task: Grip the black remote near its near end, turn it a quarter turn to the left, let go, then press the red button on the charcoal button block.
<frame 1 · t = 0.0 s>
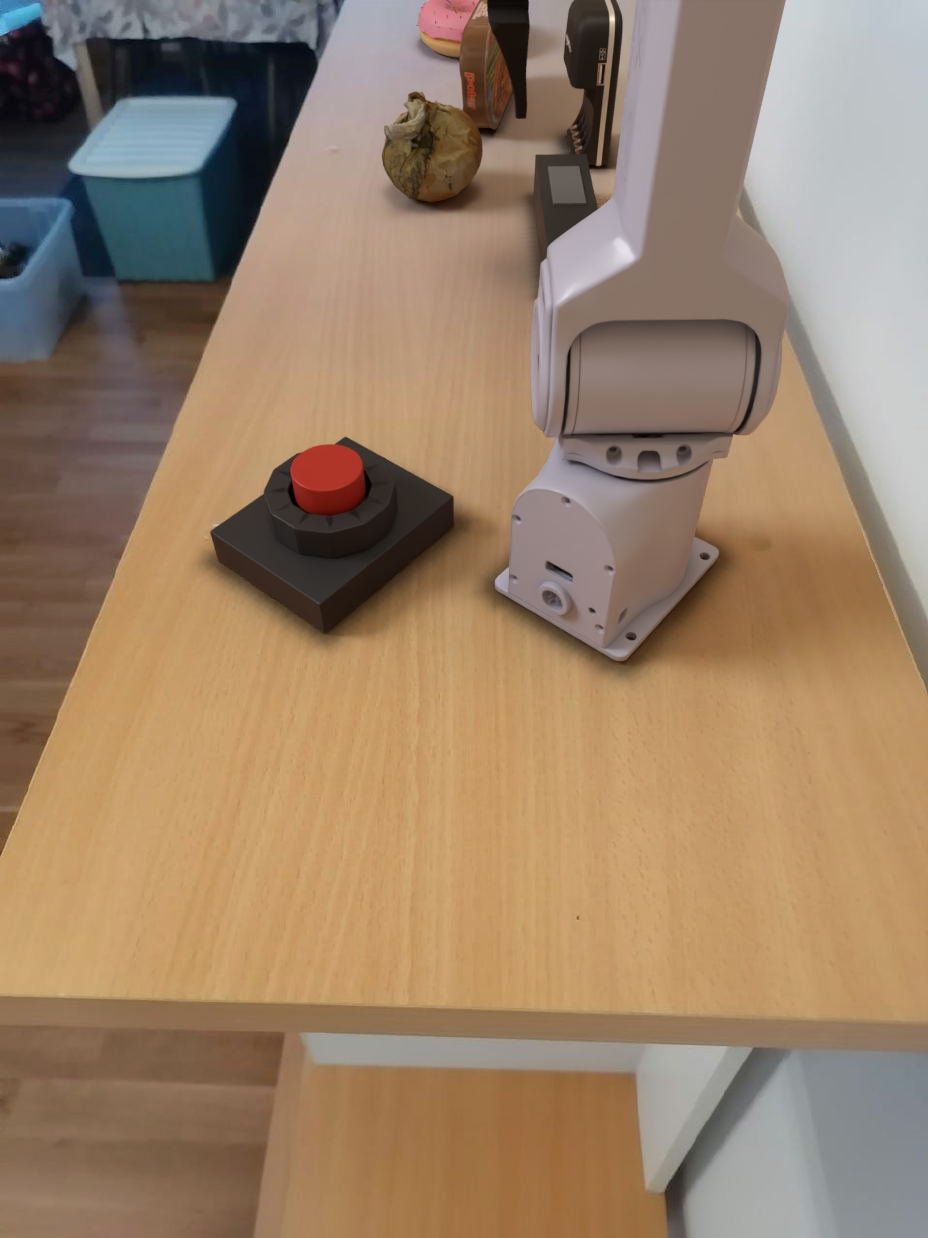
hand: (578, 109, 63), 11 cm above the table, tool pointing down, fingers open, 7 cm apart
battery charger: (581, 154, 83), on the table
button: (328, 479, 48), point 4 cm above the table, slide at 0.1 cm
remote: (565, 243, 72), on the table
button block: (338, 543, 51), on the table
tin: (488, 111, 89), on the table
doughnut: (470, 46, 100), on the table
onion: (433, 195, 78), on the table
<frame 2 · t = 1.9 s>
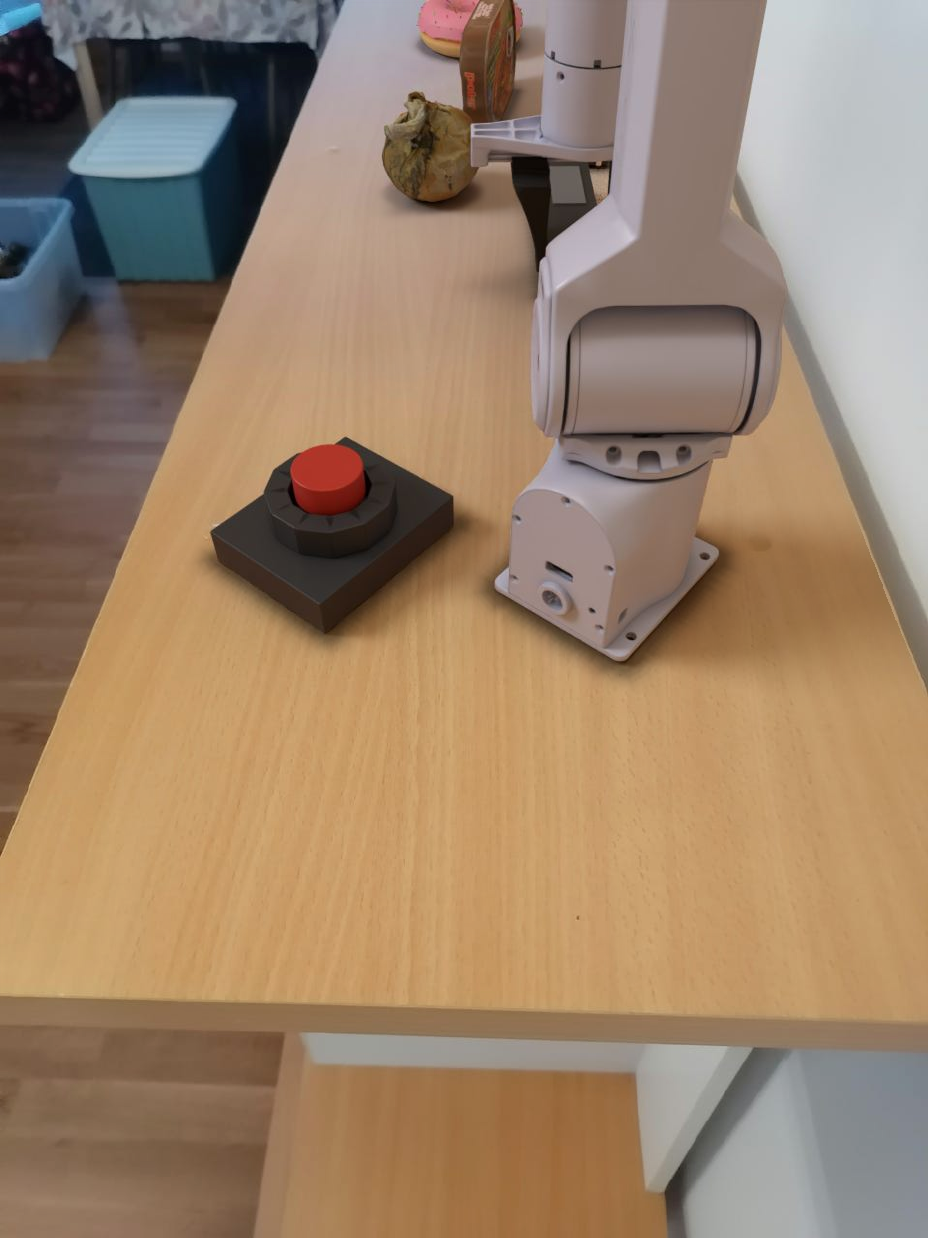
hand: (573, 264, 67), 2 cm above the table, tool pointing down, fingers closed on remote, 4 cm apart
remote: (564, 243, 72), on the table, touching gripper
everything else where it was.
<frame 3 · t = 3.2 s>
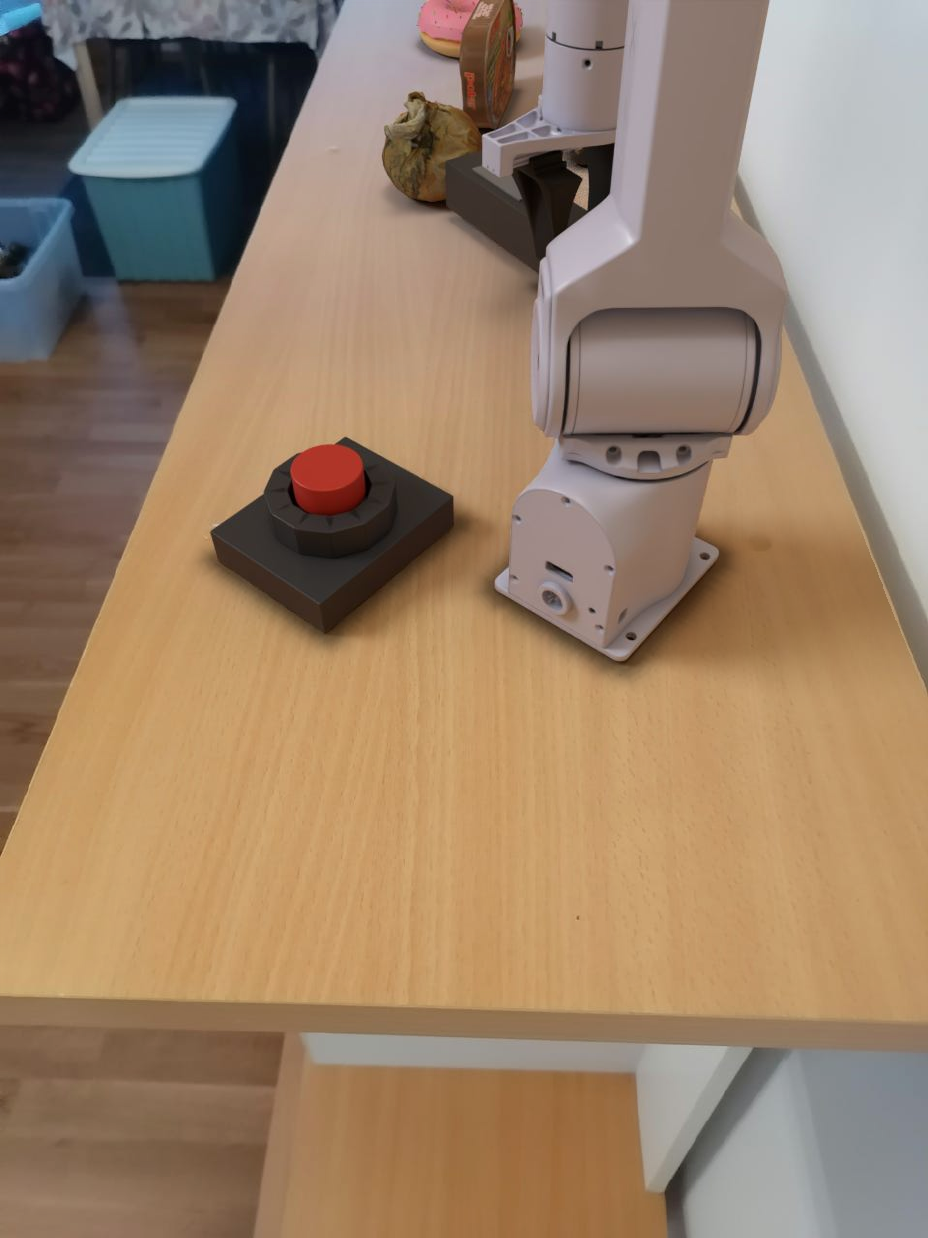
hand: (575, 251, 66), 3 cm above the table, tool pointing down, fingers closed on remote, 4 cm apart
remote: (522, 238, 71), point 1 cm above the table, touching gripper
everything else where it was.
when the fingers open (2 cm above the table, at t = 4.4 s): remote stays where it is, on the table.
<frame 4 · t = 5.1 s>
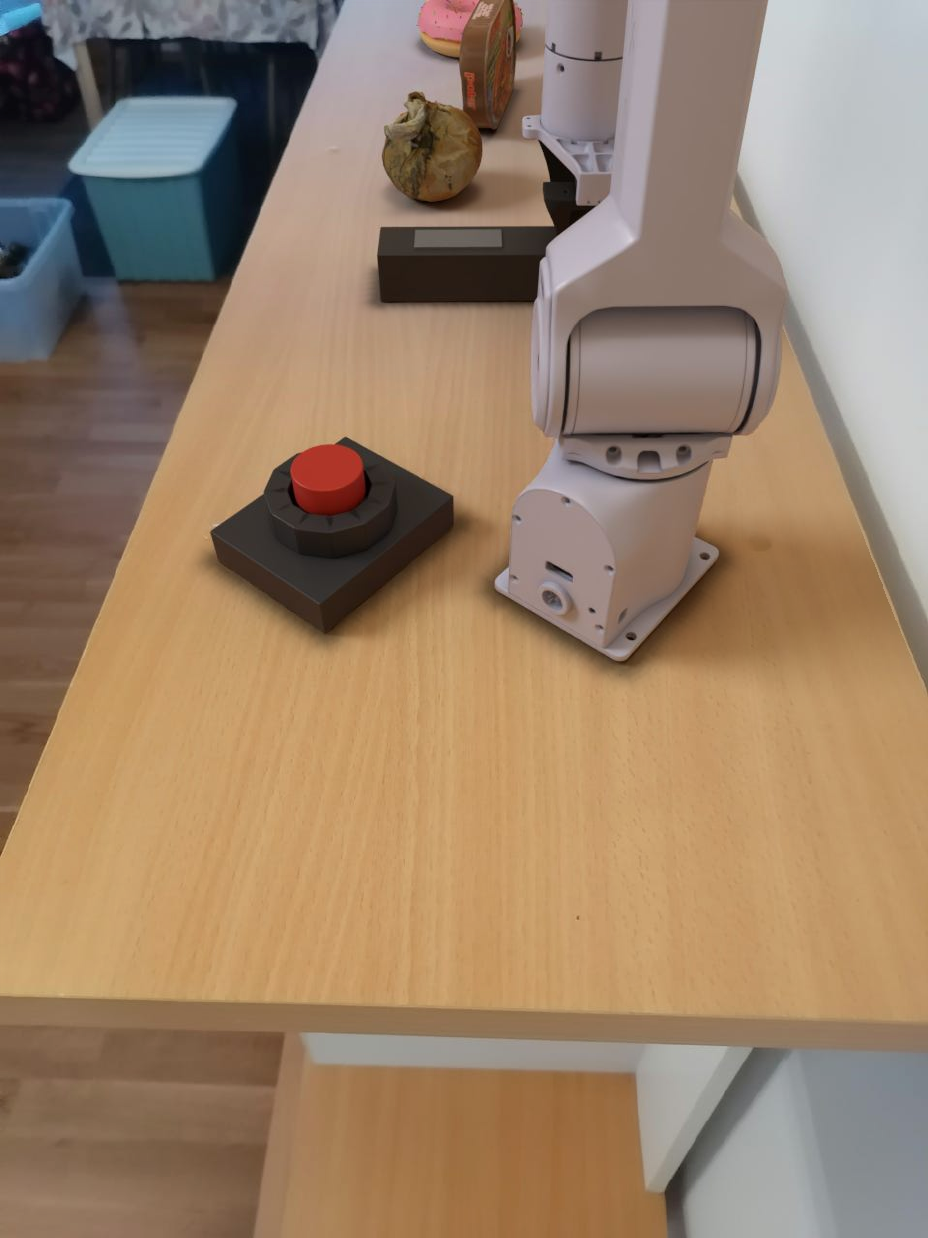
hand: (574, 259, 67), 2 cm above the table, tool pointing down, fingers open, 7 cm apart
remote: (486, 286, 68), on the table
everything else where it was.
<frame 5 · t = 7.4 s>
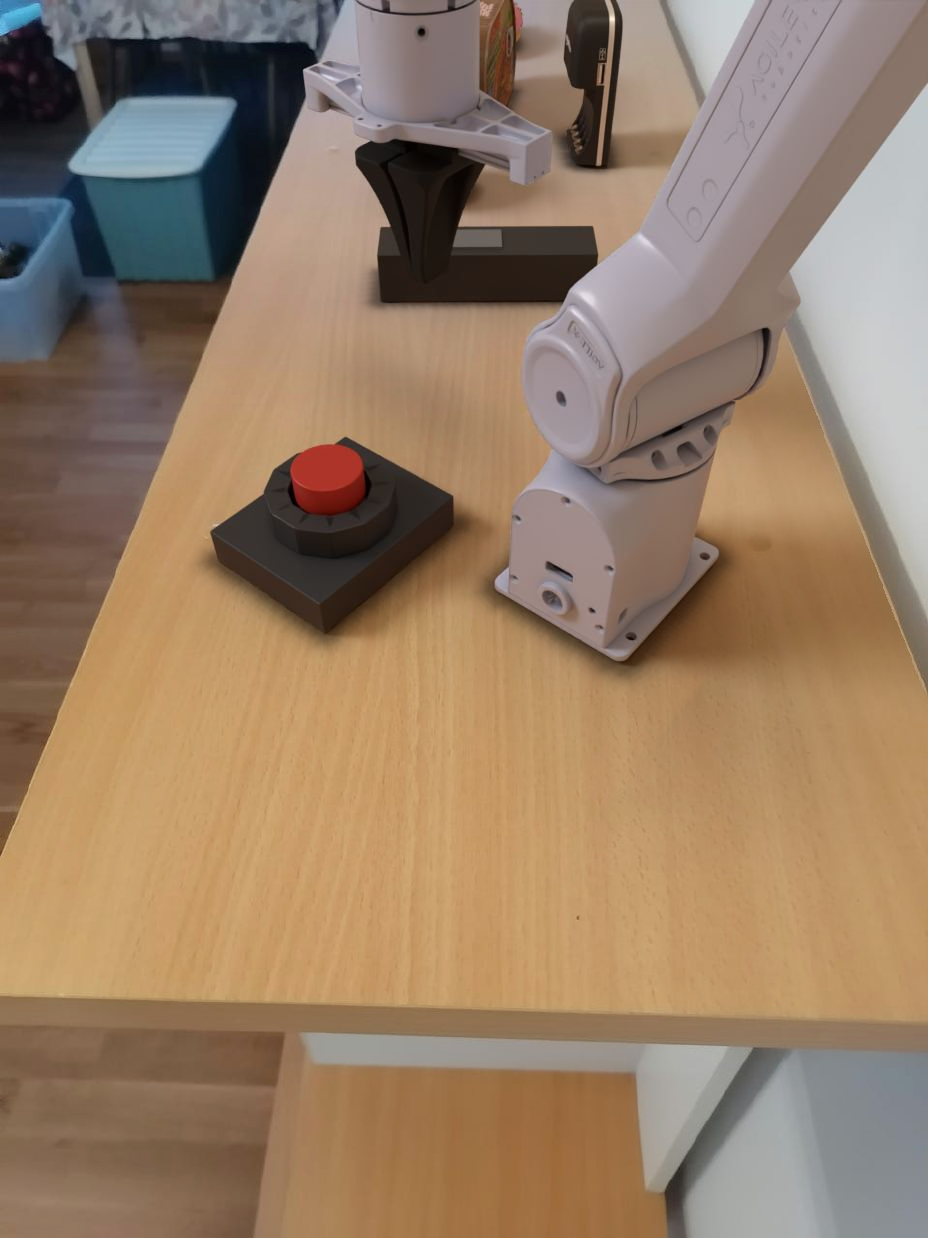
hand: (427, 273, 53), 8 cm above the table, tool pointing down, fingers closed
nothing on the table moved.
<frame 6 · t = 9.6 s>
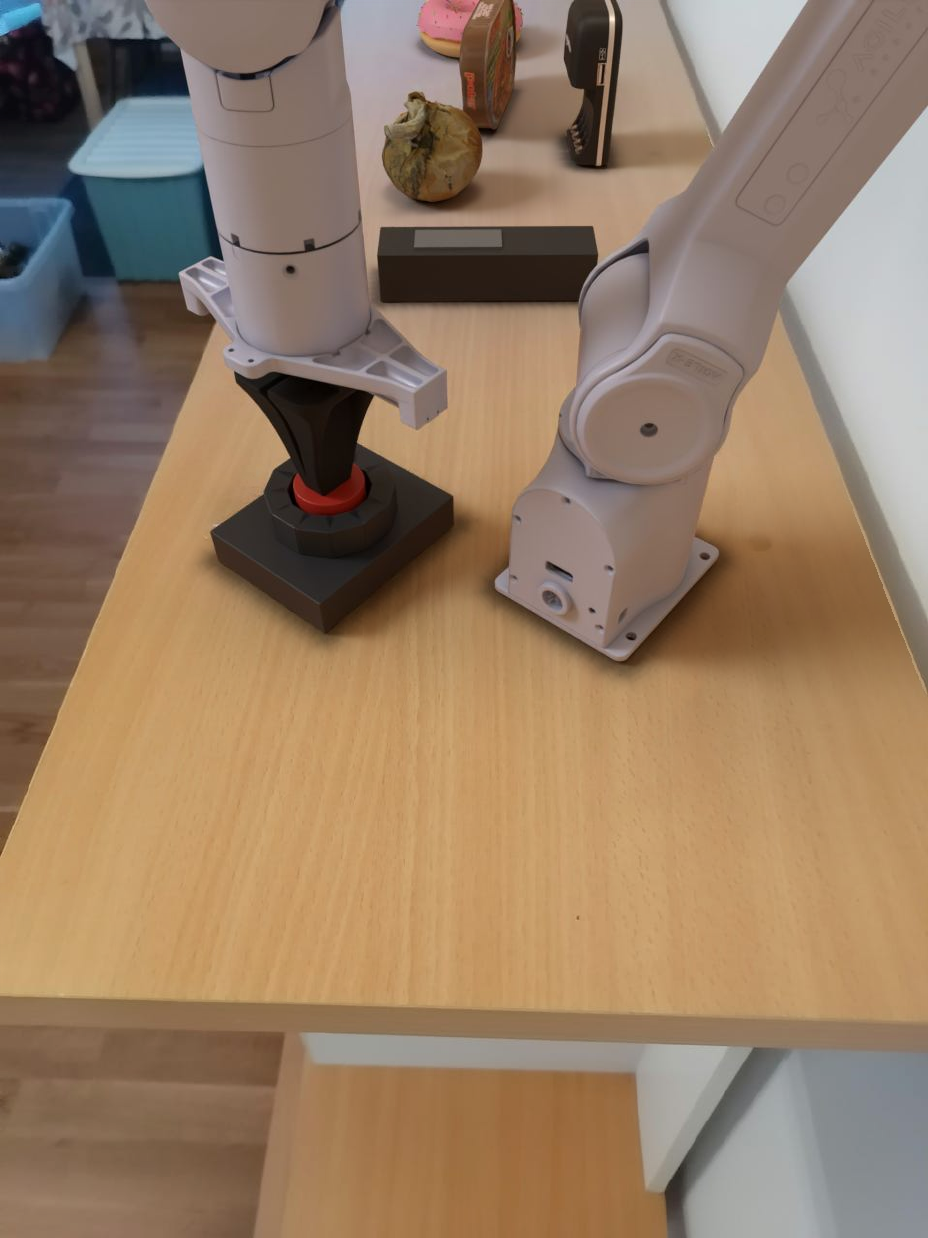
hand: (328, 481, 48), 4 cm above the table, tool pointing down, fingers closed, pressing on button
button: (330, 493, 48), point 4 cm above the table, slide at -0.8 cm, touching gripper
everything else where it was.
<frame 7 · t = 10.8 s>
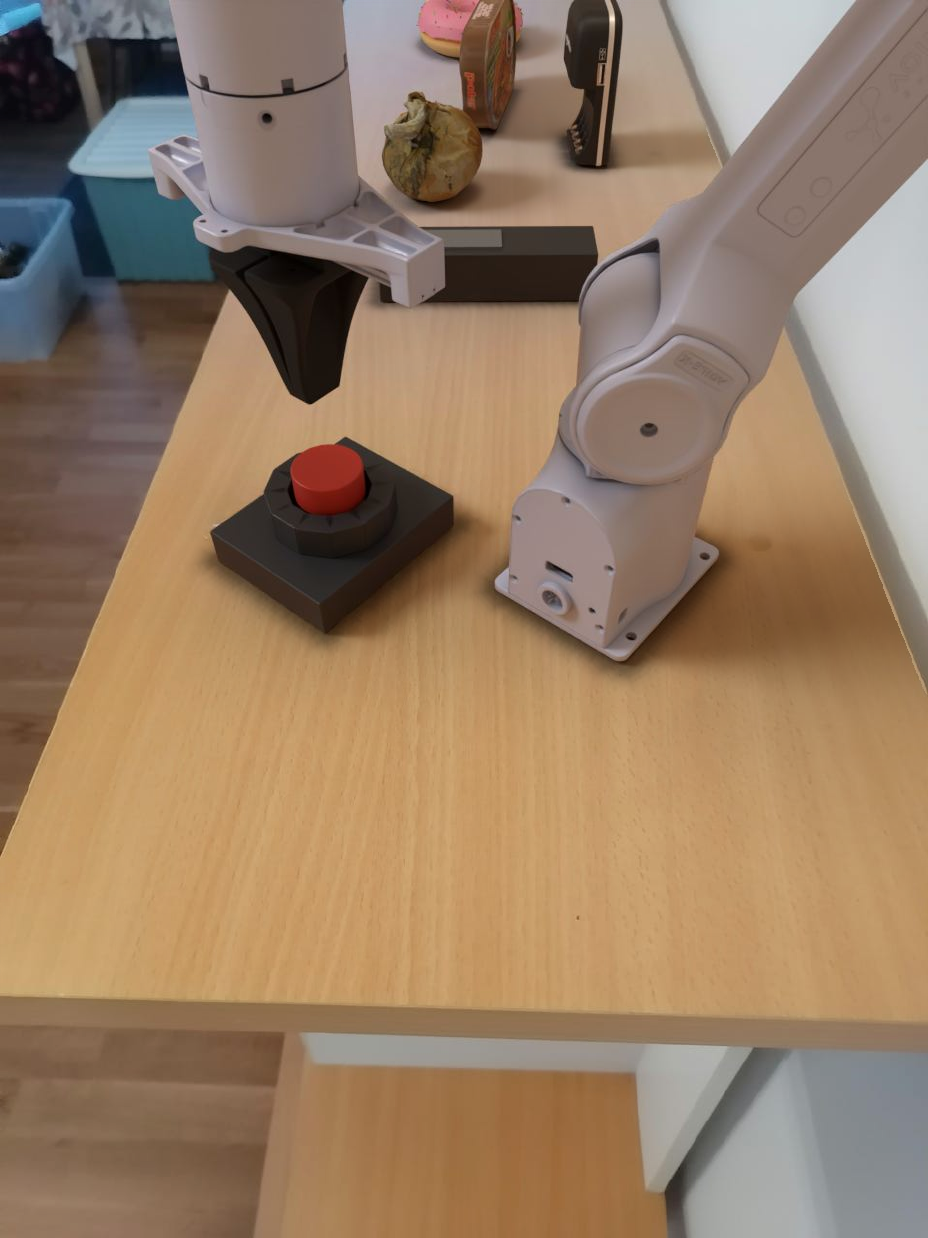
hand: (315, 389, 44), 10 cm above the table, tool pointing down, fingers closed
button: (328, 479, 48), point 4 cm above the table, slide at 0.1 cm
everything else where it was.
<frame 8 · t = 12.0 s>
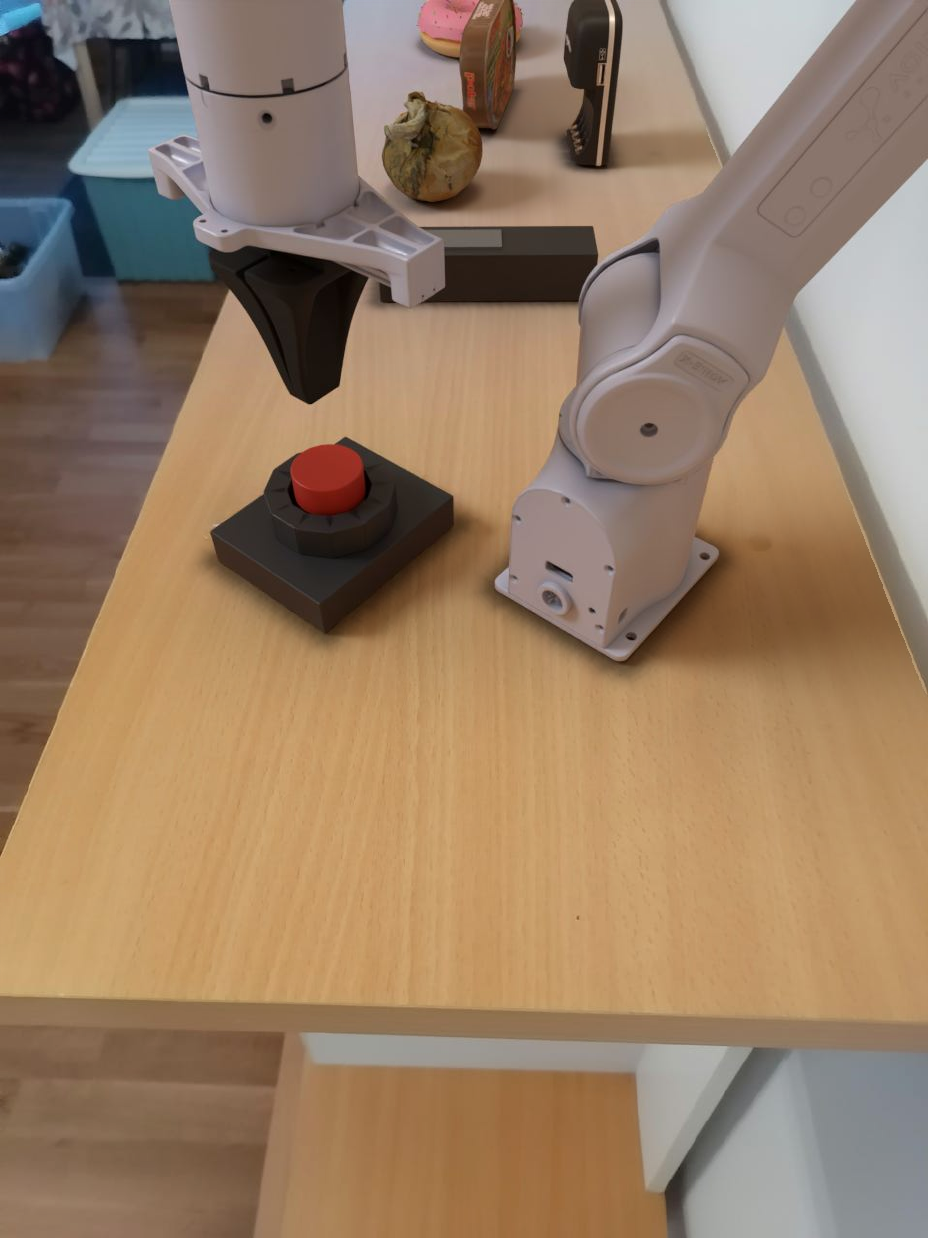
hand: (315, 389, 44), 10 cm above the table, tool pointing down, fingers closed
nothing on the table moved.
at the end: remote 0.1 cm from the target spot, on the table; button pushed in 1.2 cm at the most during the clip, back to where it started at the end; button slide at 0.1 cm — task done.
